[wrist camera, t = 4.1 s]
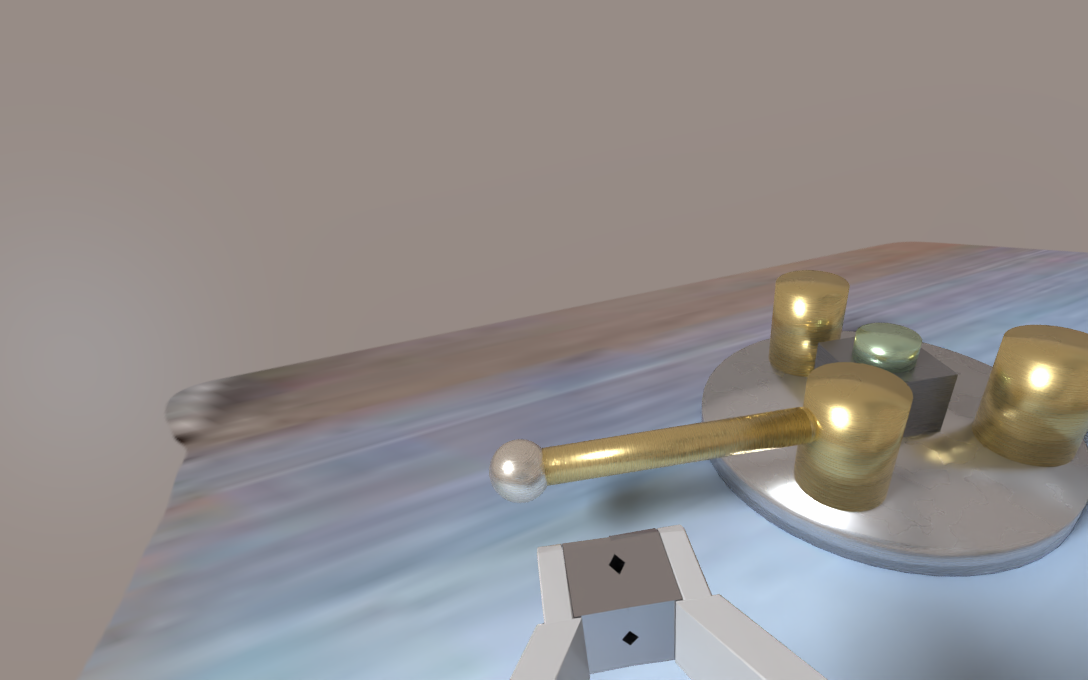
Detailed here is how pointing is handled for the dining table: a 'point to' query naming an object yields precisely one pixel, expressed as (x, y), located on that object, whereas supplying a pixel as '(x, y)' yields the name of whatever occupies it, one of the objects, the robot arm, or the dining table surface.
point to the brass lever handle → (748, 443)
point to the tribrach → (921, 438)
